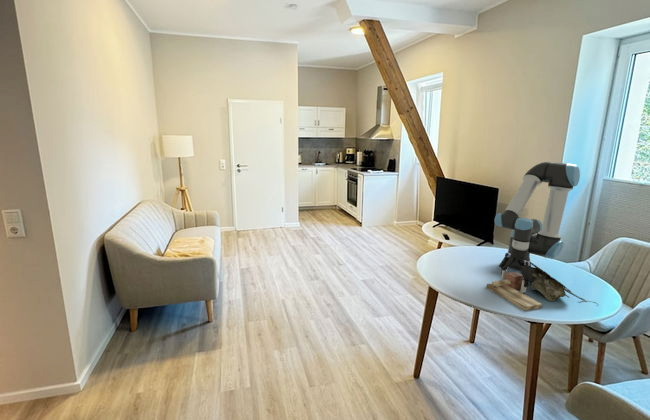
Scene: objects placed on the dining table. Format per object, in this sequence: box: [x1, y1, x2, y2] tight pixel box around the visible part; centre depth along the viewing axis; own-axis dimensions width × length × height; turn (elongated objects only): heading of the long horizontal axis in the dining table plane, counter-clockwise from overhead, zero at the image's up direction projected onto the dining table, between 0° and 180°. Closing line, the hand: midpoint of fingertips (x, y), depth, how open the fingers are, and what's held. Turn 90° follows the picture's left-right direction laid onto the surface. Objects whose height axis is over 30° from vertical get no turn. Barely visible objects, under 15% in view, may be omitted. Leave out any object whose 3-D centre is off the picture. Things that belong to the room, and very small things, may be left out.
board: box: [486, 283, 543, 311], centre depth 168 cm, size 10×24×2 cm, turn 18°
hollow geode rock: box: [526, 261, 572, 302], centre depth 176 cm, size 28×13×15 cm
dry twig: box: [563, 287, 599, 307], centre depth 174 cm, size 24×10×2 cm, turn 5°
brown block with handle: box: [491, 271, 524, 291], centre depth 176 cm, size 16×5×8 cm, turn 108°
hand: (512, 286), depth 178 cm, fingers open, 12 cm apart
